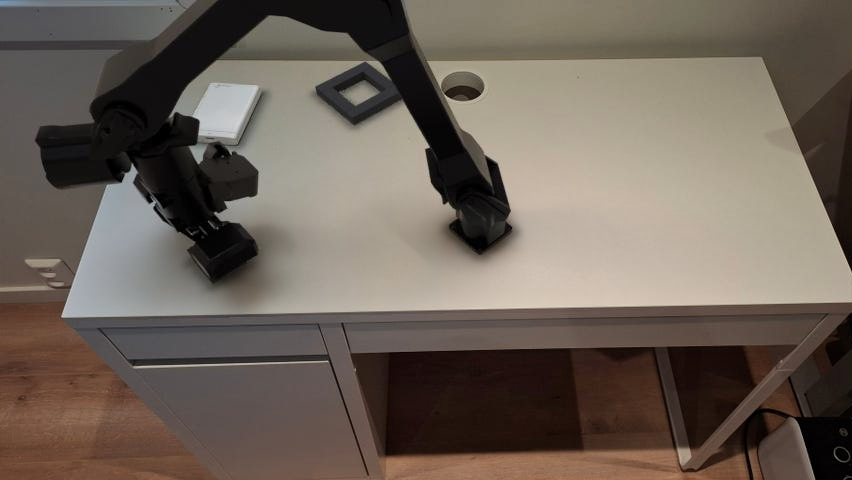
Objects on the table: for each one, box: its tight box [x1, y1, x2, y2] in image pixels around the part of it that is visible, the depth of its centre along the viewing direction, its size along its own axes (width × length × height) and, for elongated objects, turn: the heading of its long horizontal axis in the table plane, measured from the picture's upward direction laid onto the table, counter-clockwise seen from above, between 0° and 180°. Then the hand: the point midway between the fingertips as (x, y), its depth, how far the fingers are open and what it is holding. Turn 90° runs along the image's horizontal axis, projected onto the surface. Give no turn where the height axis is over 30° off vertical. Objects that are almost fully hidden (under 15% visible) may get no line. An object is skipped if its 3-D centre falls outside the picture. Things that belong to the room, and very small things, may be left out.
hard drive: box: [191, 82, 263, 146], centre depth 94 cm, size 2×8×12 cm
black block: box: [186, 245, 248, 285], centre depth 78 cm, size 5×5×2 cm
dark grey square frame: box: [314, 60, 402, 126], centre depth 98 cm, size 10×10×2 cm
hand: (217, 257), depth 78 cm, fingers open, 5 cm apart
